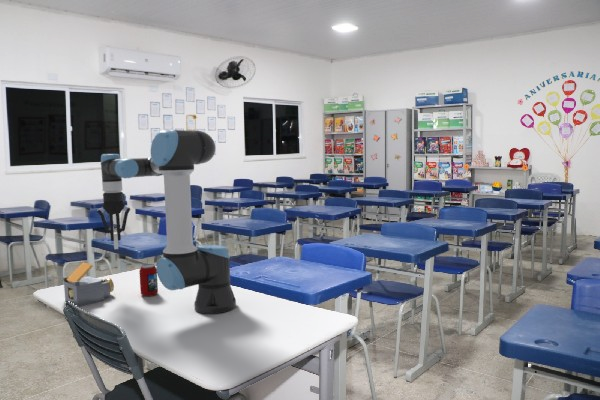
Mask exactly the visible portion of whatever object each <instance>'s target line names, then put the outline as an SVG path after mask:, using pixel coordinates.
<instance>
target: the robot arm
mask: <svg viewBox="0 0 600 400" xmlns="http://www.w3.org/2000/svg"><path fill="white" fill-rule="evenodd" d="M215 153H216V143H215V141H214V139H213V137H212V136H211V135H210V134H208V133H206V132H205V131H201V130H178V129H170V130H168V129H167V130H161V131H159V132H157V133H156V134H155V135H154V138H153V139H152V142H151V145H150V157H143V158H142V157H141V158H140V157H138V158H137V157H136V158H132V157H131V158H128V157H127V158H121V155H120V154H119V153H102V154H101V156H100V169H101V171H100V172H101V179H102V180H101V182H102V191H103V193H102V199H103V200H102V201H103V204H102V206H101V207H100V208H99V209H97V211H96V212H97V213H98V215H99V216H100V219H101V221H102V225H103V226H104V231H105V232H106V233H109V234H110V241H111V242H113V249H114V250H119V241H121V239H122V237H121V233H123V232H125V230H126V226H127V220H128V216H129V213H130V211H131V208H130V207H129V206H127V205H126V204H125V203H124V199H123V198H124V195H123V192H122V191H123V179H131V178H142V177H144V178H145V177H160V176H163V185H164V205H165V206H164V208H165V210H164V211H165V225H166V226H165V228H166V231H165V232H166V247H164V249H162V257H160V258H159V259H158V260H157V262H156V265H155V267H156V269H157V278H158V280H159V282H161V284H162V286H163V287H164V288H165V289H167V290H170V291H176V290H183V289H186V288H189V287H193V286H197V285H198V286H197V287H198V289H197V293H196V297H195V301H194V304H193V305H194V306H193V307H194V311H195V312H197V313H200V314H207V315H208V314H209V315H211V314H222V313H227V312H230V311H232V310H234V309H235V308H236V307H237V300H236V297H235V294H234V292H233V288H232V287H231V268H230V267H231V265H230V264H231V263H230V259H231V258H230V251H229V248H228V247H226V246H223V245H215V244H214V245H213V244H201V245H198V246H196V245H194V242H193V241H194V240H193V219H192V217H193V216H192V195H191V194H192V193H191V192H192V191H191V176H190V175H191V174H193V172H194V171H195V165H197V166H198V165H201V164H205V163H207V162H208V163H209V161H211V160H212V159H213V157H214V156H215ZM123 211H124V214H123V218H122V224H121V222H120V221H121V220H120V213H121V212H123ZM105 212H106V213H107V215H108V216H109V218H108V219H109V227H108V224H107V221H106V218H105V214H104V213H105ZM113 215H115V221H116V232H115V231H114V217H113Z"/></svg>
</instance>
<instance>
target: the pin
mask: <svg viewBox="0 0 600 400" xmlns="http://www.w3.org/2000/svg"><path fill="white" fill-rule="evenodd" d="M102 280H103V283H104V282H109V283H110V293H113V291H114V288H115V286H114V282H113V280H112V278H110V277H109V278H104V279H102ZM69 296H70V298H73V289H72V290H69Z"/></svg>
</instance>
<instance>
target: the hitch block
mask: <svg viewBox="0 0 600 400" xmlns="http://www.w3.org/2000/svg"><path fill="white" fill-rule="evenodd" d="M68 277H69V276H64V277H62V282H63V288H64V290H63V291H64V301H65V302H67V301H70V302H72V303H74V304H75V305H77V306H79V307H83V306H87V305H91V304H94V303H95V304H96V303H100V302H103V301H104V299H107V298H111V292H110V283H109V282H104V283H103V280H104V279H103V278H102V279H98V278H96V277H93V276H90V275H88V276H83V277H82V278H81V280H80V281H75V282H74V283H72V282H69V281H67V280H66V279H67V278H68ZM72 289H73V298H70V296H69V290H72ZM75 305H74V306H75ZM77 306H76V307H77Z"/></svg>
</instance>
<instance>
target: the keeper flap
mask: <svg viewBox="0 0 600 400" xmlns="http://www.w3.org/2000/svg"><path fill="white" fill-rule="evenodd" d="M93 267H94V265H93V264H90V263H87V262H84V261H83V262H81V263H80V264H79V266H77V267H76V268H75V270H74V271H73V272H72V273H71V274H70V275H69V276H67V277H68V278H67V279H66V280H67V281H69V282H72V283H74V282H75V281H80V280H81V278H82V277H85V276H86V274H87V273H88V272H89V271H90V270H91V269H92V268H93Z"/></svg>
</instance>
